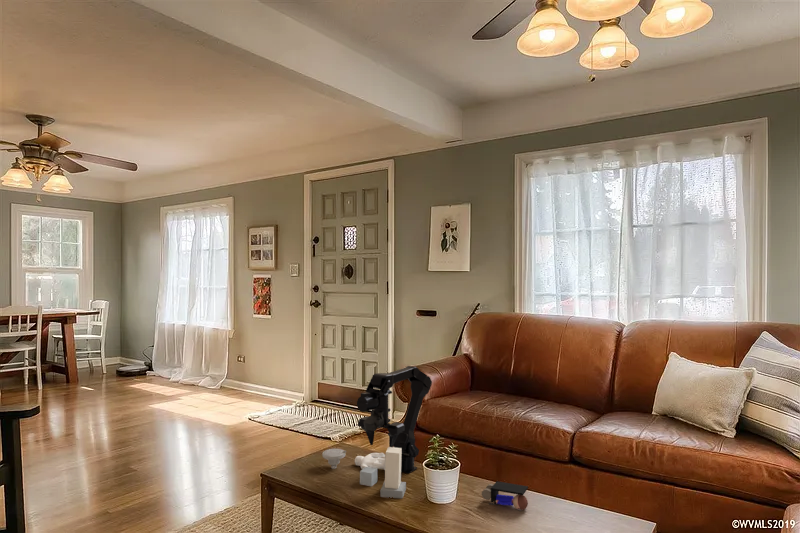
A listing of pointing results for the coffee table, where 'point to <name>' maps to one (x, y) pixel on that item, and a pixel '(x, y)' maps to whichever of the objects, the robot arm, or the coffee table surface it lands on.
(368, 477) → the cube
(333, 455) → the showerhead
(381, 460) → the figure
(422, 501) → the coffee table surface
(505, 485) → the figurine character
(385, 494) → the plinth
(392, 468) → the pillar
